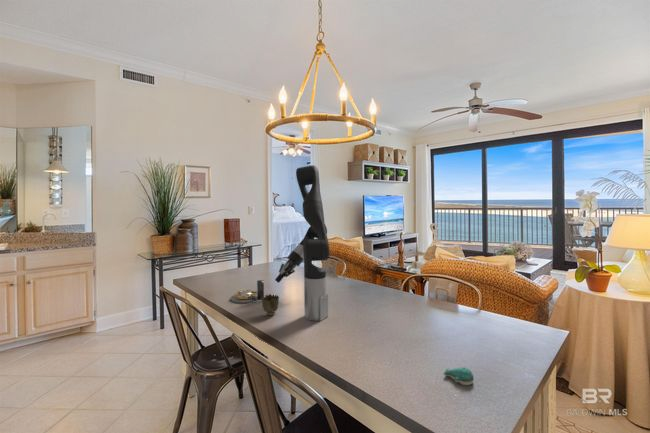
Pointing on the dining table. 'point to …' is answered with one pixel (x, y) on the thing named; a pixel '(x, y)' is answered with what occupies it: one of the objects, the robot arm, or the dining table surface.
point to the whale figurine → (460, 375)
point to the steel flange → (243, 299)
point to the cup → (270, 304)
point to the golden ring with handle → (253, 292)
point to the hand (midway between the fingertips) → (276, 281)
